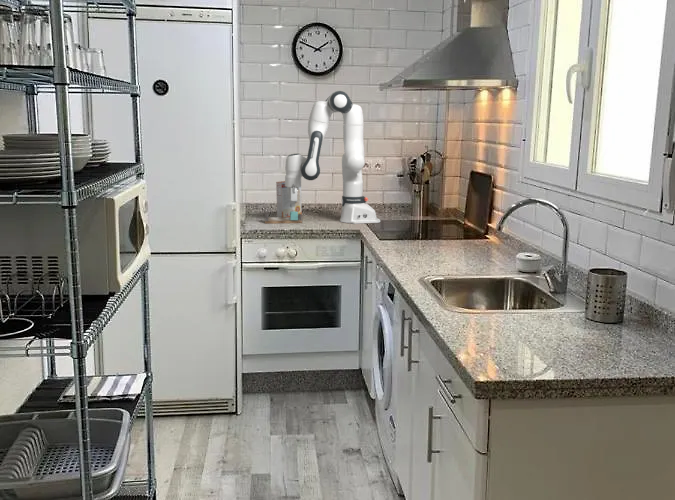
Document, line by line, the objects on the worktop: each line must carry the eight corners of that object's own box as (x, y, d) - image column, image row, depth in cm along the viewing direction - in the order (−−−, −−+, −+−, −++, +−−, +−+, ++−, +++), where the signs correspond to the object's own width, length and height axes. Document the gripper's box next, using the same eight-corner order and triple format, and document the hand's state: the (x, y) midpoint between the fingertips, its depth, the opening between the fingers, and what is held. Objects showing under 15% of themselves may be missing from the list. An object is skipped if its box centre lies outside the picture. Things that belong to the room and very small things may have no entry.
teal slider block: (297, 218, 389) (297, 211, 388) (297, 220, 385) (297, 212, 384) (290, 219, 389) (290, 211, 388) (290, 220, 384) (290, 212, 383)
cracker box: (295, 215, 412) (295, 180, 408) (302, 216, 407) (301, 180, 403) (276, 217, 403) (275, 181, 399) (282, 218, 399) (281, 182, 395)
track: (300, 220, 392) (300, 210, 391) (301, 223, 383) (301, 212, 382) (264, 221, 390) (264, 211, 389) (265, 223, 380) (265, 213, 379)
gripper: (300, 185, 373) (299, 211, 376) (297, 182, 393) (296, 206, 396) (288, 185, 372) (287, 210, 375) (286, 181, 392) (285, 206, 395)
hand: (292, 208), depth 385 cm, fingers open, 8 cm apart
